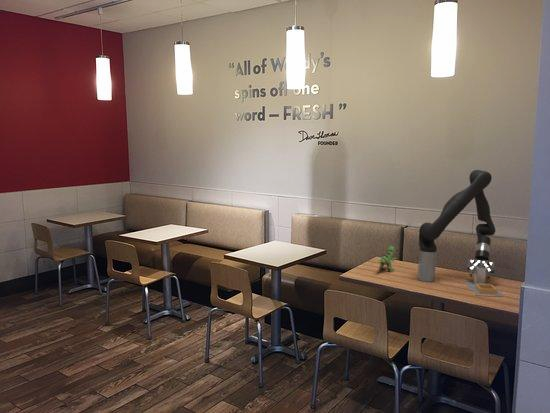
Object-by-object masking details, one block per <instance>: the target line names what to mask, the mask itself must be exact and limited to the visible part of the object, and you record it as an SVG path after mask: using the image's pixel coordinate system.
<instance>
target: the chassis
mask: <svg viewBox="0 0 550 413" xmlns="http://www.w3.org/2000/svg"><path fill="white" fill-rule="evenodd" d="M464 283H465V284H466V286H467V287H468V288H469V289H470V290H471V292H473V293H474V295H475V297H480V295H481V296H486V297H493V298H495V297H496V298H501V296H503V294H502V292H501V291H499V290H498V289H497V287H496V286H494V285H493V284H492V283H490V282H485V284H474V281H472V282H471V281H469V282H468V281H464Z"/></svg>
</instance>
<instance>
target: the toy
mask: <svg viewBox="0 0 550 413" xmlns="http://www.w3.org/2000/svg"><path fill="white" fill-rule="evenodd" d="M387 251H388V253H386V254H384V255H382V256H381V258H380V259H379V260H378V263H379V266H378V269H379V271H382V270H386V269H385V268H386V267H384V266H387V270H388V273H394V272H395V269H392V262H395V260H397V257H396V256H395V257H393V254H394V252H395V246H393V245H388V248H387Z"/></svg>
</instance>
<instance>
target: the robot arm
mask: <svg viewBox="0 0 550 413" xmlns="http://www.w3.org/2000/svg"><path fill="white" fill-rule="evenodd" d="M468 177H469V182H470V184H469V186H468V187H466V188H465V189H462V190H461V191H459V192H456V193H455V194H454V195H453V196H452V197H450V199H448V200H447V202H446V203H445V204H444V206H443V208H442V210H441V212H440V214H439V216H438V218H436V219H435V220H434V221H433V222H424V223H422V224H421V226H420V228H419V231H418V232H419V233H418V245H419V258H418V260H419V261H418V264H417V265H418V266H417V279H418V281H421V282H422V281H423V282H428V283H429V282H435V280H436V269H437V268H436V266H437V251H438V250H437V245H436V244H435V243H436V242H435V241H436V240H438V238H439V237H440V236H442V235H441V234H443V232H444V231H445V229H446V228H447V227H448V226H449V225H450V224H451V223H452V221H453V220H455V218H457V216H458V215H459V214H460V213H461V212H462V211H463V210H464V209H466V207H467V206H468V205H469V204H470V203H471V202H472V201H473V200H474V202H475V205H476V213H477V214H476V215H477V219H478V221H479V222H484V223H478V224H477V225H476V227H475V233H476V236H477V240H476V241H477V242H476V247H475V248H476V249H475V254H474V259H473V260H472V259H471V258H468V261H467V265H466V270H468V271H469V276H470V277H471V278H472V277H473V274H474V271H475V266H483V267H485V268H486V273H487V274H486V279H487V280H489V279H490V278H491V274H495V264H496V262H495V261H492V262H490V257H491V256H490V254H491V242H492V241H491V240H492V239H491V237H489V236H494V235H495V233H496V227H495V224H494V222H493V220H492V217H491V210H490V209H491V208H490V204H489V201H488V199H487V197H486V195H485V192H484V190H485V189H486V188H487V187H488V186H489V185H490V184H491V182H492V174H491V173H490V172H488V171H486V170H482V169H475V170H472V171H471V172H470V174H469V176H468ZM472 264H473V265H472ZM471 265H472V266H471ZM489 266H490V267H491V268H490V267H489Z"/></svg>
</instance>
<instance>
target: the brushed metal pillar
mask: <svg viewBox="0 0 550 413" xmlns="http://www.w3.org/2000/svg"><path fill="white" fill-rule="evenodd" d="M486 273H487V271H486V268H485V267H483V266H475V269H474V279H473V282H474V284H485V283H486V276H487V274H486Z"/></svg>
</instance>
